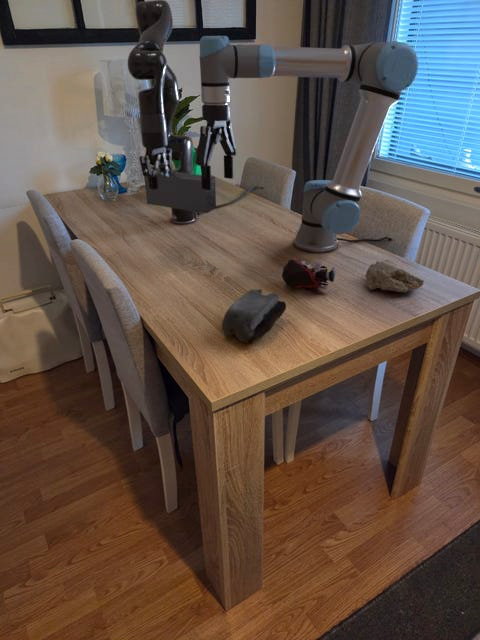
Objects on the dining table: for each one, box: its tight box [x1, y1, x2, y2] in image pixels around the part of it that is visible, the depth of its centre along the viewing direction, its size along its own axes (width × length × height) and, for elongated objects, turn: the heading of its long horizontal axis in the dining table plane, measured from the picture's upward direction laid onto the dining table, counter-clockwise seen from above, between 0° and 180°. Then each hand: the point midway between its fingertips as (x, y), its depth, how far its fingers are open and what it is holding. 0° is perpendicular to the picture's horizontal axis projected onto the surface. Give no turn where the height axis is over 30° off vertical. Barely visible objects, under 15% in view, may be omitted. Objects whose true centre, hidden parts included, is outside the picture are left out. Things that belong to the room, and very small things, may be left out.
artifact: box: [365, 259, 424, 293], centre depth 134 cm, size 18×8×15 cm
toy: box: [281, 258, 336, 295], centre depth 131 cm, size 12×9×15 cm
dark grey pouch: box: [221, 289, 287, 345], centre depth 112 cm, size 18×11×8 cm, turn 152°
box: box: [143, 169, 217, 214], centre depth 137 cm, size 22×6×10 cm, turn 65°
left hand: (159, 186), depth 140 cm, fingers closed on box, 6 cm apart
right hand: (218, 183), depth 131 cm, fingers open, 13 cm apart
